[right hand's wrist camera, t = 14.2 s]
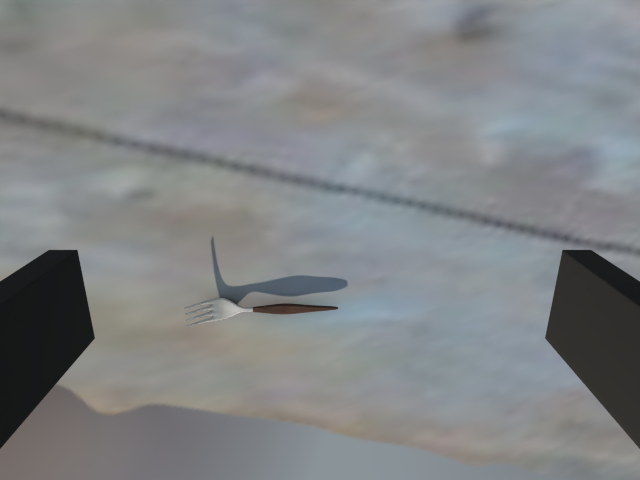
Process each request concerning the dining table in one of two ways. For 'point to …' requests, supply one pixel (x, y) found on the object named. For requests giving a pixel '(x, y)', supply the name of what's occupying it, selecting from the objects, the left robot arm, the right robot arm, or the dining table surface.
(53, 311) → the right robot arm
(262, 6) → the dining table surface
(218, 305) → the fork
